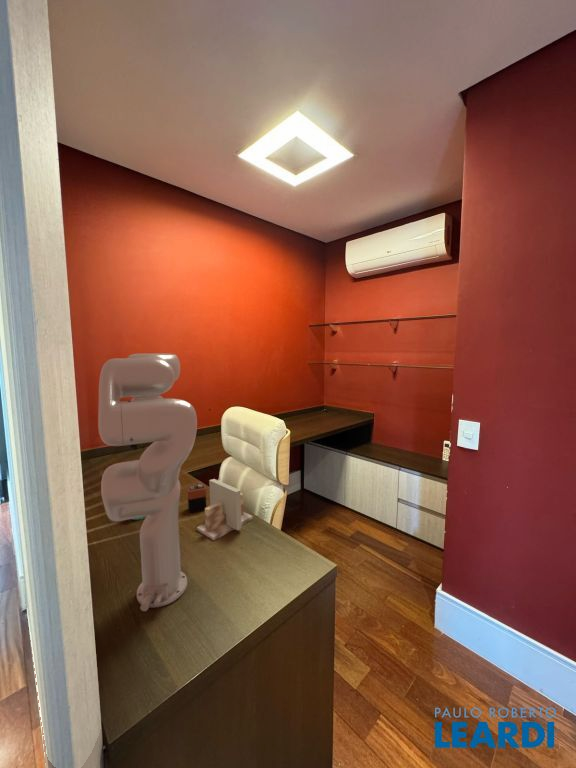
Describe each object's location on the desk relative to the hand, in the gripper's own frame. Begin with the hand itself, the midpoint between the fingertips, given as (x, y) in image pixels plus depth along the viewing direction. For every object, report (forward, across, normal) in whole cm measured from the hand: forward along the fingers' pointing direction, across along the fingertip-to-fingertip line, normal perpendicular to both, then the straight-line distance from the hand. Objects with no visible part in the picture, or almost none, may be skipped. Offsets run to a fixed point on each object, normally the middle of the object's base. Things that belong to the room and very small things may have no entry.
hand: (149, 445), depth 100 cm
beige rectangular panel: (+32, +23, -7) cm, 40 cm away
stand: (+34, +23, -7) cm, 41 cm away
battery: (+34, +22, +11) cm, 42 cm away
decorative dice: (+34, +4, +24) cm, 42 cm away
